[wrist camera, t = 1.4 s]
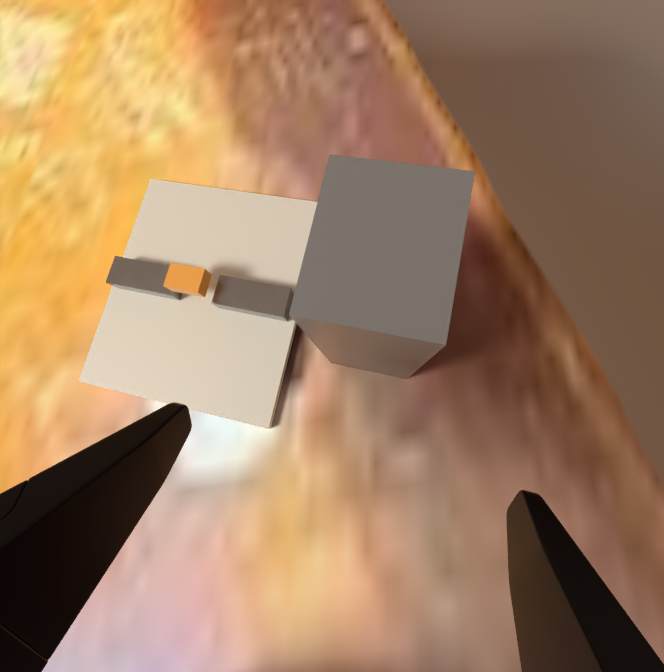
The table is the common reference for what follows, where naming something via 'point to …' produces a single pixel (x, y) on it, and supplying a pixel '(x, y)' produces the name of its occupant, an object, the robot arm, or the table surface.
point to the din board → (204, 303)
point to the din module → (382, 263)
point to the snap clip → (187, 279)
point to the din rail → (226, 296)
